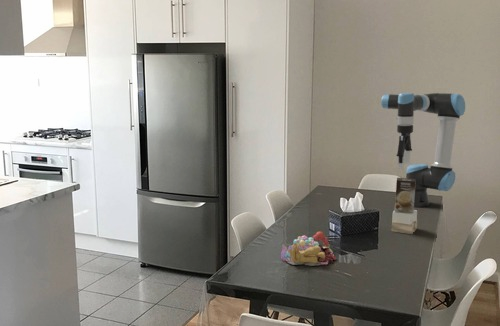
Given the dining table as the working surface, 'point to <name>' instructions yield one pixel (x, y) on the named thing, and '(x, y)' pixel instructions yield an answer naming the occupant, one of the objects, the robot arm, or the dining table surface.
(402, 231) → the tower base block
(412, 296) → the dining table surface
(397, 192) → the coffee box
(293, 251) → the plate of sweets
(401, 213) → the tower top block
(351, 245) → the dining table surface
